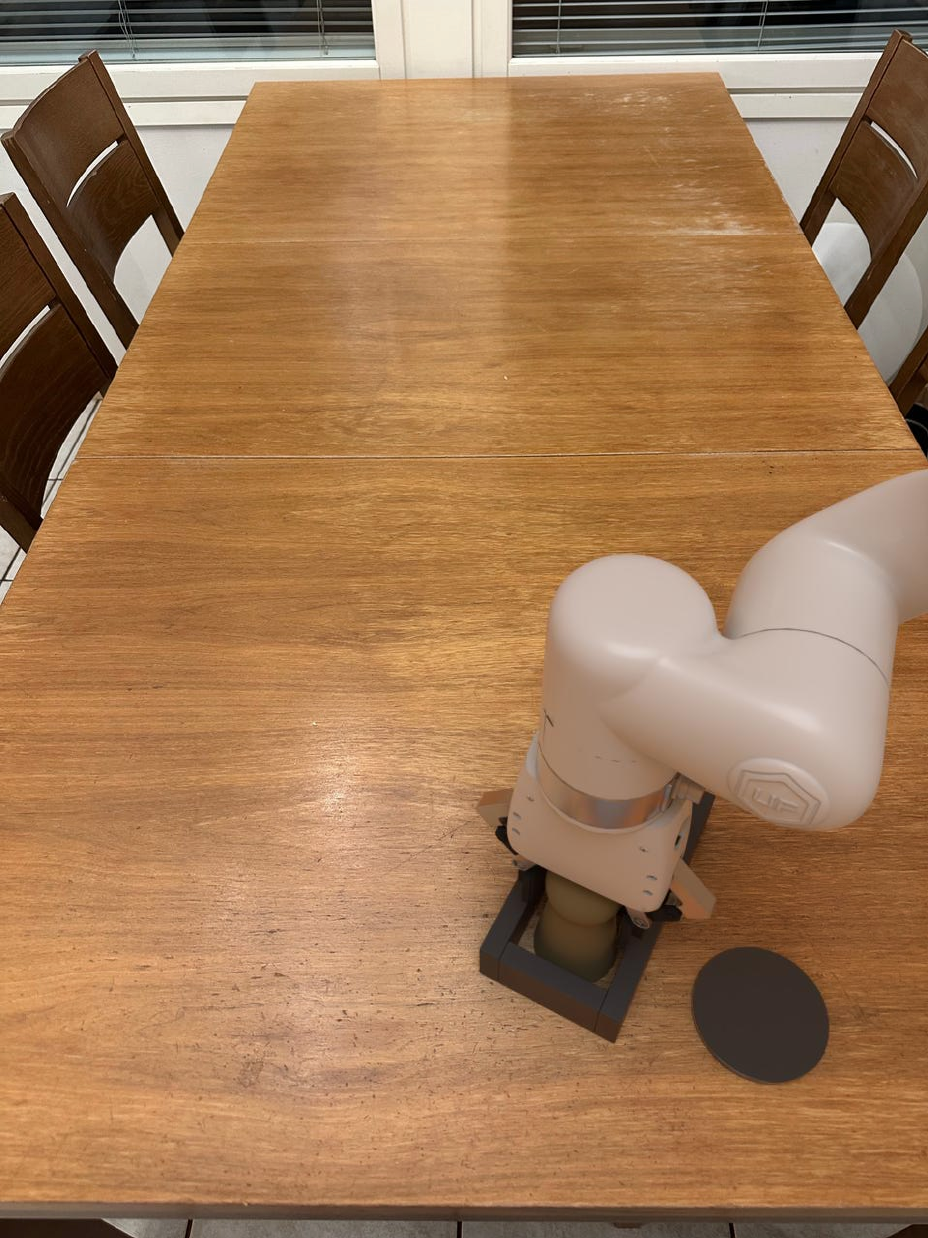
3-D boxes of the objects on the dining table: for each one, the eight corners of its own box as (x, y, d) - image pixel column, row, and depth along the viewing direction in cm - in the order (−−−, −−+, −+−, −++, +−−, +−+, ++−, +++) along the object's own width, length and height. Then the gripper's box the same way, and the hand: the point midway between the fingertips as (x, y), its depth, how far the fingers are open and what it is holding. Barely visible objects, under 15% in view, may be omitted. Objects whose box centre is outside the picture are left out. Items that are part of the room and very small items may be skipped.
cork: (515, 939, 68) (520, 867, 60) (574, 887, 70) (587, 811, 62) (575, 1004, 65) (589, 937, 57) (635, 947, 67) (656, 875, 59)
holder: (706, 822, 74) (716, 795, 71) (614, 1044, 63) (620, 1023, 60) (586, 770, 77) (590, 742, 74) (479, 972, 66) (478, 949, 63)
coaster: (842, 986, 65) (844, 984, 65) (807, 1112, 60) (809, 1110, 60) (716, 928, 68) (717, 925, 68) (672, 1042, 63) (674, 1040, 63)
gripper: (789, 769, 49) (724, 918, 63) (495, 651, 55) (492, 811, 68) (746, 888, 45) (685, 1021, 58) (430, 746, 51) (441, 897, 64)
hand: (581, 906), depth 63 cm, fingers open, 6 cm apart
